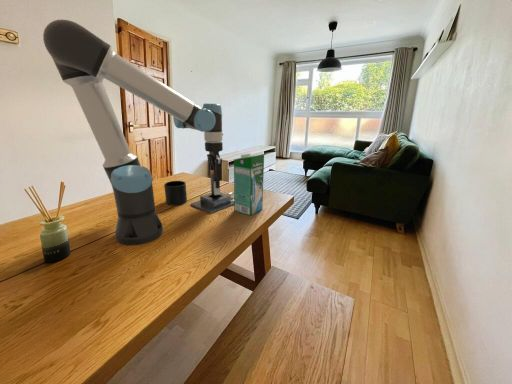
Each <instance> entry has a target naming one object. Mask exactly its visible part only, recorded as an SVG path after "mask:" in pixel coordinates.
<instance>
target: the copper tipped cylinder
mask: <svg viewBox="0 0 512 384" xmlns="http://www.w3.org/2000/svg"><path fill="white" fill-rule="evenodd" d="M213 180H214V172H213V169H212V170H211V180H210V192H211V191H212V192H211V193H212V198H214V199H216V198H219V197H220V194H219V195H214V182H213Z"/></svg>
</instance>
